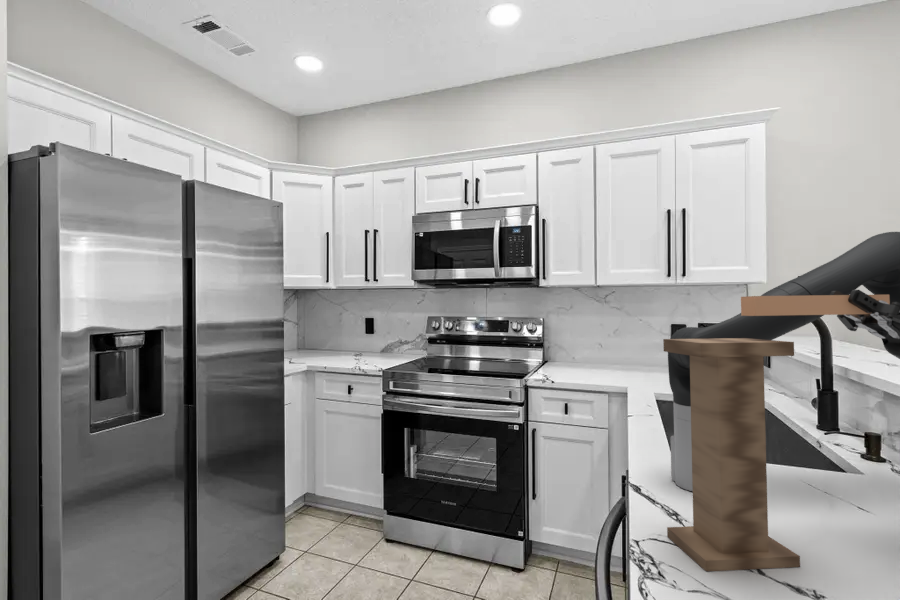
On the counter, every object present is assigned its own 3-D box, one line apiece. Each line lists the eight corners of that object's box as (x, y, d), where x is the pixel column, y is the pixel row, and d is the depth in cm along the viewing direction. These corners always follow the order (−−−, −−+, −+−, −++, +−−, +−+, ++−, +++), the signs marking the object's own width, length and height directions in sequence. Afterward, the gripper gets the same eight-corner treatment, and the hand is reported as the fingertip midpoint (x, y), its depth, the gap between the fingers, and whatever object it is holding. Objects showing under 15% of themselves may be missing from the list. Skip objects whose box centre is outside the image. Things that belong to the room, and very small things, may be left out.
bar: (871, 313, 74) (870, 295, 74) (890, 313, 71) (889, 294, 71) (741, 315, 72) (740, 296, 73) (755, 315, 70) (754, 296, 70)
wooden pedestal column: (749, 533, 75) (744, 338, 76) (800, 566, 65) (793, 341, 66) (667, 536, 74) (663, 339, 75) (706, 571, 64) (700, 343, 65)
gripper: (895, 326, 80) (813, 277, 79) (996, 329, 66) (898, 270, 65) (877, 364, 80) (794, 315, 79) (974, 375, 66) (875, 316, 65)
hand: (841, 295), depth 72 cm, fingers closed on bar, 3 cm apart
